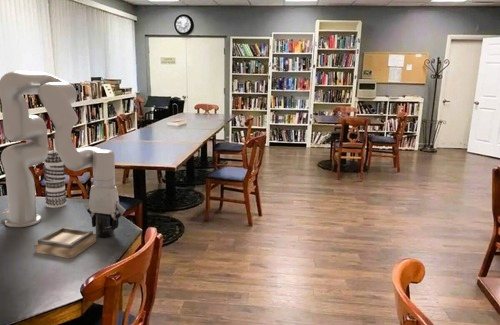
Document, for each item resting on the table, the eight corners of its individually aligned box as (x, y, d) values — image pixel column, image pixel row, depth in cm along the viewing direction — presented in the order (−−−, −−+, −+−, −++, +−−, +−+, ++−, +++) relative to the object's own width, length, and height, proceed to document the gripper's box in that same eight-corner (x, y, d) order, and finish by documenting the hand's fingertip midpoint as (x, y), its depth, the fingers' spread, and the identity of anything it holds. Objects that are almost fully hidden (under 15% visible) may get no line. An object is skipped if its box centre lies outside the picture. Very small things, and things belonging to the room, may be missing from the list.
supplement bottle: (108, 240, 141) (107, 209, 139) (92, 237, 143) (91, 207, 140) (118, 233, 148) (117, 203, 145) (102, 230, 149) (101, 201, 147)
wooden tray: (34, 252, 129) (33, 240, 128) (62, 236, 142) (61, 225, 141) (71, 258, 126) (71, 246, 125) (96, 241, 140) (95, 230, 139)
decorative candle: (71, 202, 179) (69, 150, 173) (60, 208, 169) (57, 154, 164) (53, 200, 179) (50, 148, 174) (40, 206, 170) (37, 152, 165)
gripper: (76, 182, 139) (78, 227, 143) (120, 188, 136) (120, 234, 139) (89, 177, 146) (90, 220, 150) (130, 182, 143) (131, 226, 147)
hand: (105, 226), depth 145 cm, fingers open, 7 cm apart
